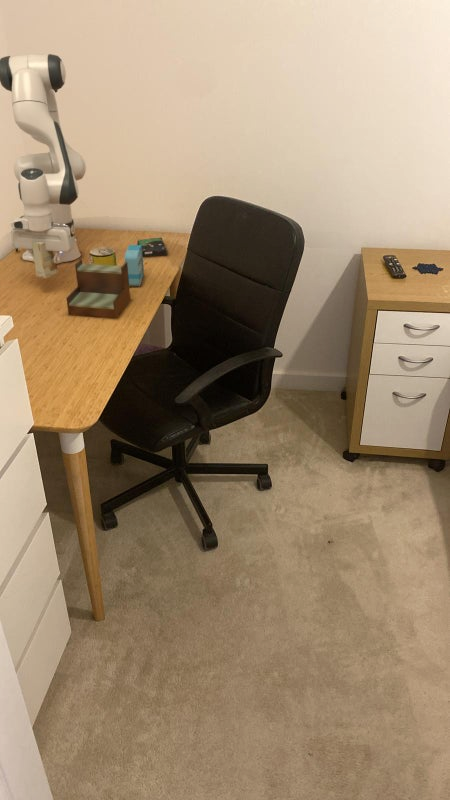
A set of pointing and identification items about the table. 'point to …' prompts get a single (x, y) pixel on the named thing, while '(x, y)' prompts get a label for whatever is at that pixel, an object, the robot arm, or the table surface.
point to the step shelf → (99, 291)
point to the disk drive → (152, 247)
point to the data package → (134, 264)
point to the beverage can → (103, 256)
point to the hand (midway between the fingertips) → (45, 261)
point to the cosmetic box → (43, 260)
